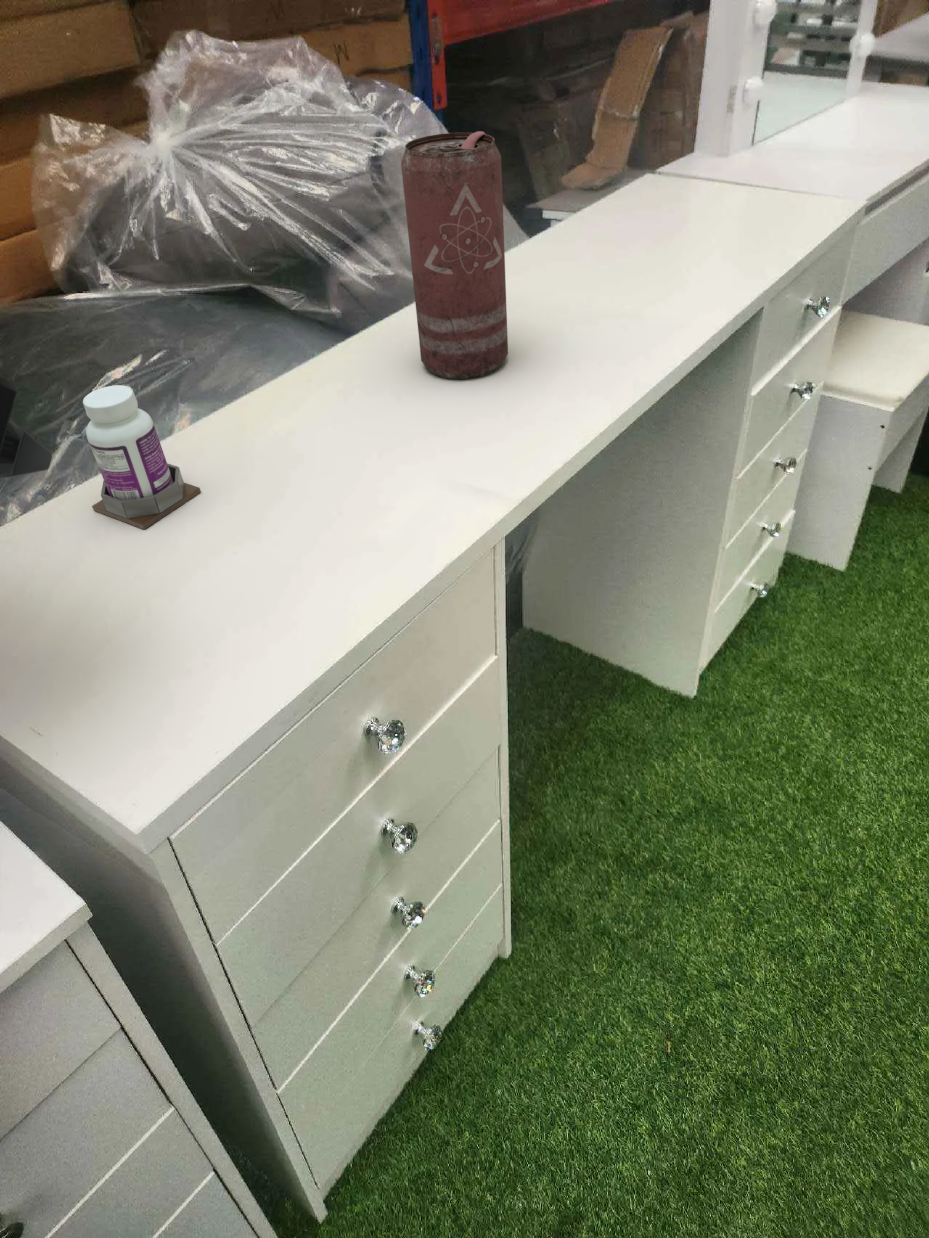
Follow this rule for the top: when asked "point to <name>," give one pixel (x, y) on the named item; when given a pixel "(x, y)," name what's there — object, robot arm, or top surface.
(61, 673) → the top surface
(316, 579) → the top surface
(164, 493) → the octagonal bottle holder
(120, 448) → the pill bottle
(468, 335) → the can
